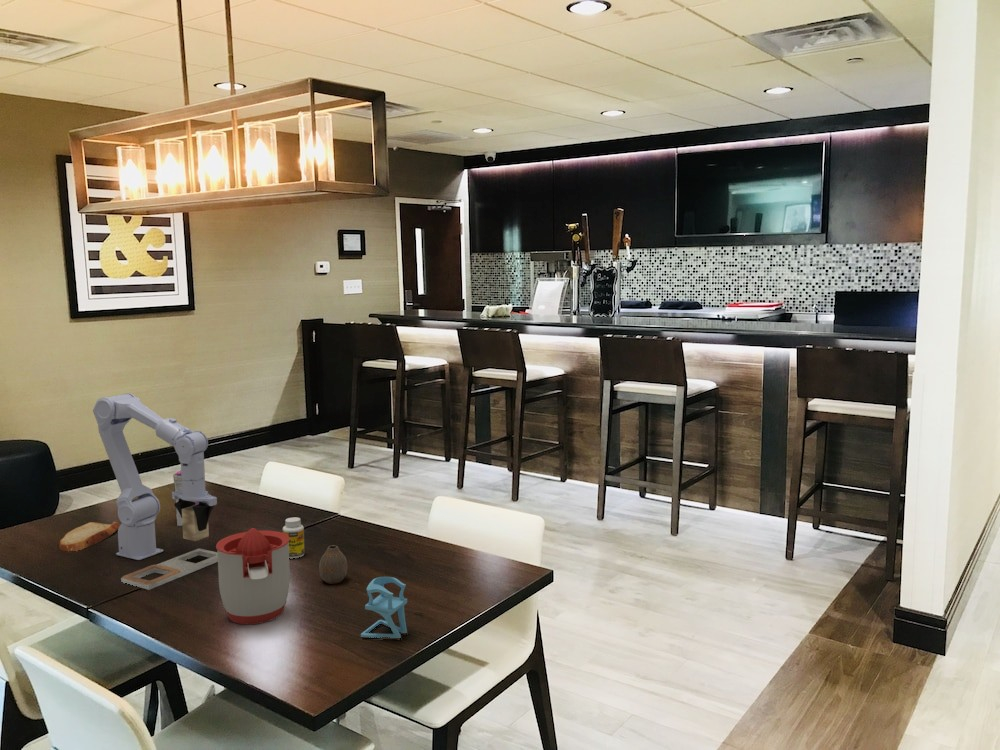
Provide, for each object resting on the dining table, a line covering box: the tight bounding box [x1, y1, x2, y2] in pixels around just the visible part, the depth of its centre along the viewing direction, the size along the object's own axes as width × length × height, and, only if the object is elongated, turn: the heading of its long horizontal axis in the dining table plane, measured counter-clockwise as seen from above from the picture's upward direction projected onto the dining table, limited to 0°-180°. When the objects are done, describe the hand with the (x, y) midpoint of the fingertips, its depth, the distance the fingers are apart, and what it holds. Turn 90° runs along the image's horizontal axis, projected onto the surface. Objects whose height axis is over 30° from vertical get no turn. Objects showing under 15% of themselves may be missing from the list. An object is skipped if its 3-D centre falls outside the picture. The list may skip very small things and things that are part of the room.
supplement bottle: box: [282, 516, 305, 560], centre depth 210 cm, size 6×6×10 cm
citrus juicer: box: [215, 527, 291, 626], centre depth 172 cm, size 16×17×20 cm
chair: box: [360, 576, 408, 639], centre depth 163 cm, size 8×8×12 cm
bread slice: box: [58, 521, 121, 553], centre depth 225 cm, size 18×18×4 cm
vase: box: [318, 544, 348, 585], centre depth 193 cm, size 7×7×9 cm
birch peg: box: [182, 505, 210, 542], centre depth 205 cm, size 4×4×8 cm
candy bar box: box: [172, 469, 199, 527], centre depth 240 cm, size 11×5×16 cm, turn 179°
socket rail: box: [120, 548, 218, 591], centre depth 200 cm, size 10×24×2 cm, turn 153°
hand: (195, 528), depth 205 cm, fingers closed on birch peg, 4 cm apart
